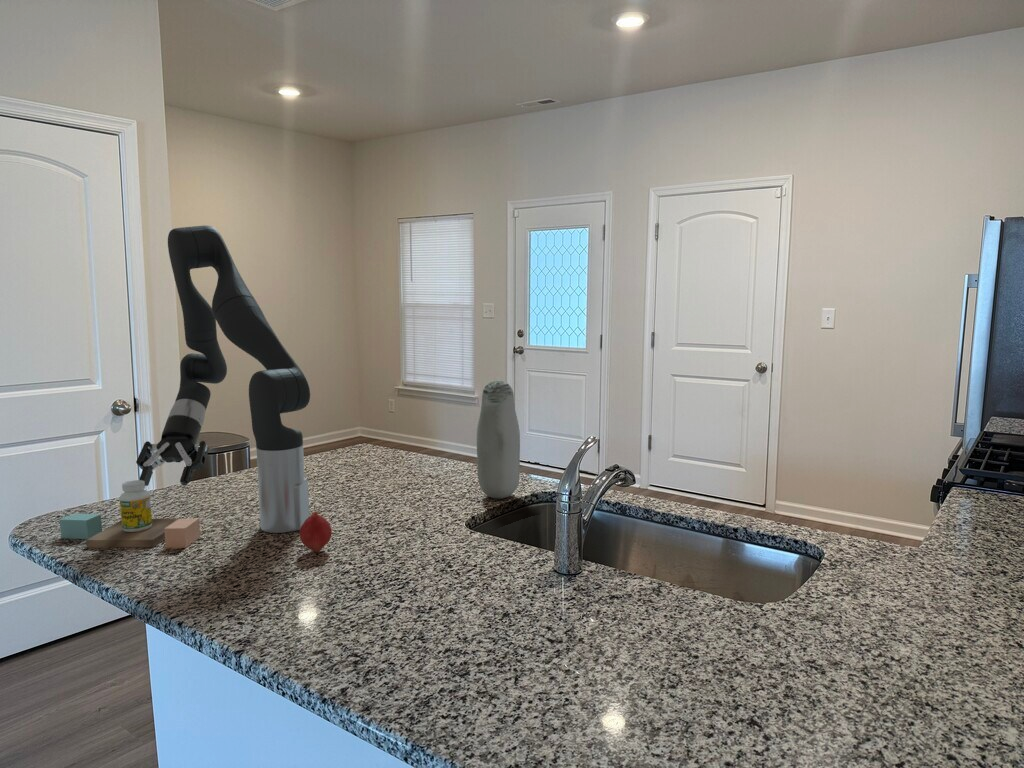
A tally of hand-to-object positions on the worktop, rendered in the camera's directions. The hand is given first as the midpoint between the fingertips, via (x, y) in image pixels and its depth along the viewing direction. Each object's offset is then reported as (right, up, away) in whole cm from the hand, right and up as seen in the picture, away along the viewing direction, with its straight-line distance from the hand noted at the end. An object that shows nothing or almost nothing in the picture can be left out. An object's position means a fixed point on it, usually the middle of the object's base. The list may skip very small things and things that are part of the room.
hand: (163, 484), depth 150 cm
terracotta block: (+11, -10, -14) cm, 21 cm away
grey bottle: (+73, -6, +15) cm, 75 cm away
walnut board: (0, -9, -11) cm, 14 cm away
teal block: (-12, -9, -10) cm, 18 cm away
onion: (+39, -10, -20) cm, 45 cm away
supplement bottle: (0, -8, -11) cm, 13 cm away
